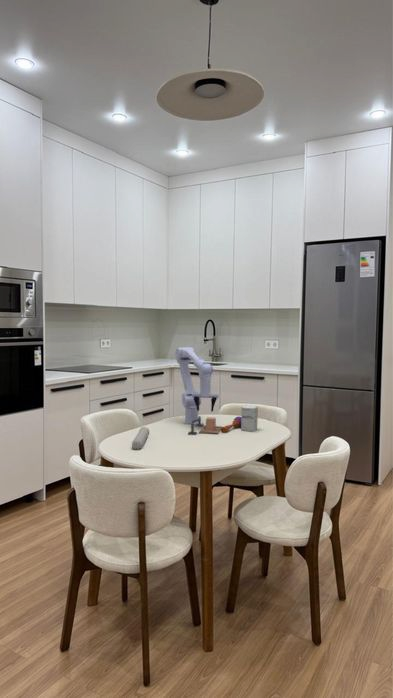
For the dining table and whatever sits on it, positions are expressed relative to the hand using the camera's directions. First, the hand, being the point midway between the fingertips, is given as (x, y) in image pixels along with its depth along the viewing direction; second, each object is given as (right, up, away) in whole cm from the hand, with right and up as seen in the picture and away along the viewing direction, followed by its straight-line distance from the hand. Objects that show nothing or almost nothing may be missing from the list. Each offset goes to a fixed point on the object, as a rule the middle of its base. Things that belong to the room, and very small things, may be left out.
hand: (205, 410), depth 258 cm
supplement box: (+24, -10, -3) cm, 26 cm away
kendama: (+15, -10, -2) cm, 18 cm away
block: (+3, -9, -5) cm, 11 cm away
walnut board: (+3, -10, -5) cm, 11 cm away
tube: (-31, -12, -31) cm, 46 cm away
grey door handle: (-5, -10, -4) cm, 11 cm away
